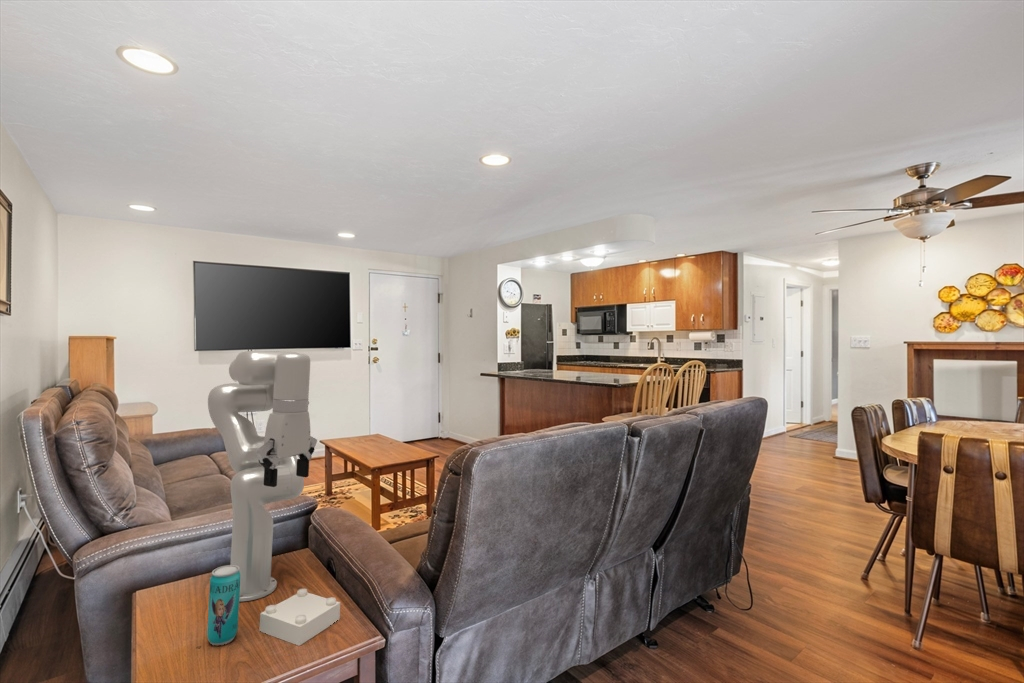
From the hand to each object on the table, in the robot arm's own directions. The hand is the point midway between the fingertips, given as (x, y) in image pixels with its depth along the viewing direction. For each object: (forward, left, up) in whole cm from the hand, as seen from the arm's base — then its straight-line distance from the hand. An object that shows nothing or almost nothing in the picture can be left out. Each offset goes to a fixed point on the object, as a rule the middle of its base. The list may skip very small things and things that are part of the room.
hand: (286, 481), depth 116 cm
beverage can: (-6, -10, -33) cm, 35 cm away
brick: (+4, +2, -33) cm, 33 cm away
